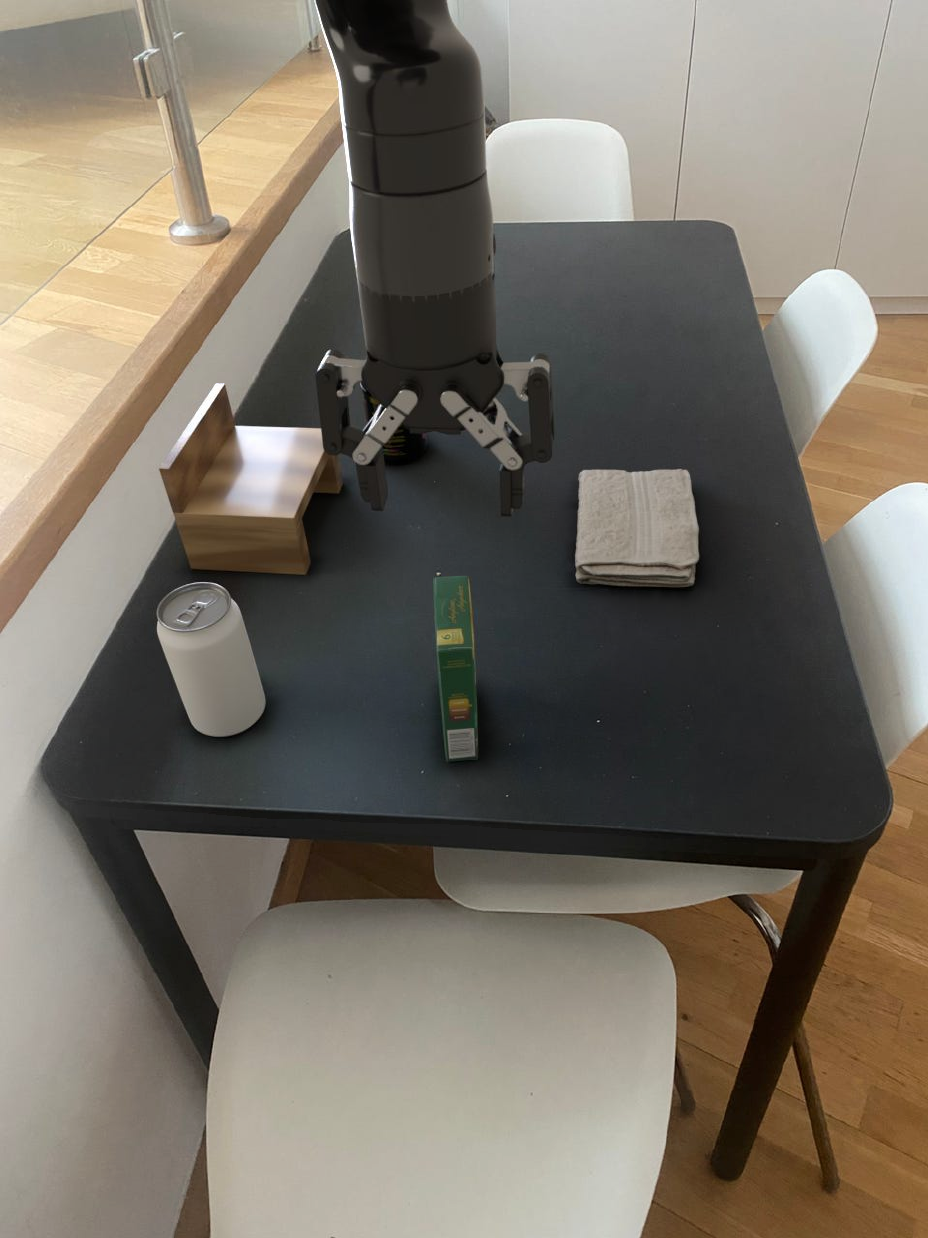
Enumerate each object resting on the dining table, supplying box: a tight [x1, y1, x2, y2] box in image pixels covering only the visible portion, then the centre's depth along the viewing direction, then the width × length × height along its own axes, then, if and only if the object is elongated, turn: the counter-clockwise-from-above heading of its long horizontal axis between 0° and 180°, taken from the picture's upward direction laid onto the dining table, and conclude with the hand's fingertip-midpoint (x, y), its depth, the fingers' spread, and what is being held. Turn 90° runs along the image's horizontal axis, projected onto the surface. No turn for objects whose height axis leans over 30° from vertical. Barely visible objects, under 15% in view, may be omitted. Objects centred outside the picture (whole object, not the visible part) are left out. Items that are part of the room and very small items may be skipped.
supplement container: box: [359, 381, 428, 465], centre depth 103 cm, size 7×7×10 cm
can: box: [156, 581, 266, 738], centre depth 74 cm, size 6×6×12 cm
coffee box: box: [432, 575, 479, 763], centre depth 71 cm, size 8×3×13 cm, turn 2°
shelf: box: [158, 383, 344, 576], centre depth 94 cm, size 16×12×12 cm
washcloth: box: [574, 468, 700, 588], centre depth 92 cm, size 12×18×3 cm, turn 175°
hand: (443, 506), depth 61 cm, fingers open, 8 cm apart
